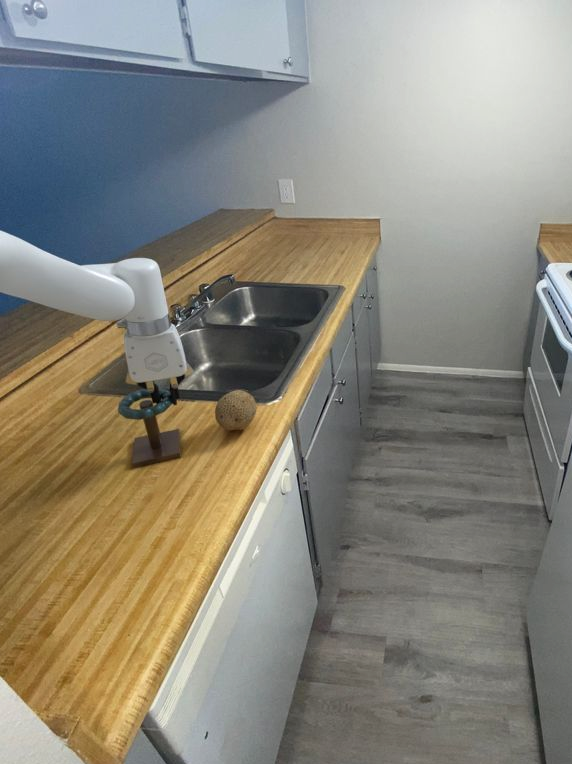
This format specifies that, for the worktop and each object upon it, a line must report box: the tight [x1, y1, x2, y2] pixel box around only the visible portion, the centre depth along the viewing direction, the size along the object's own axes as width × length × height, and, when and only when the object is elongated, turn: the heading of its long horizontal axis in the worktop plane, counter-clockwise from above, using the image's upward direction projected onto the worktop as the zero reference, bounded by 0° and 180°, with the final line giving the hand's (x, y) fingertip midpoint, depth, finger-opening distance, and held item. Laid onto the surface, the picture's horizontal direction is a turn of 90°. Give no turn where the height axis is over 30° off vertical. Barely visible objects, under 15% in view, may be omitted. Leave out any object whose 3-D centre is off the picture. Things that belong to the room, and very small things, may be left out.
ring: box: [117, 387, 173, 421], centre depth 97 cm, size 10×10×2 cm
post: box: [131, 399, 182, 468], centre depth 100 cm, size 9×9×12 cm
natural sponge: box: [214, 389, 258, 431], centre depth 108 cm, size 9×9×10 cm
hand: (167, 402), depth 99 cm, fingers closed on ring, 2 cm apart
